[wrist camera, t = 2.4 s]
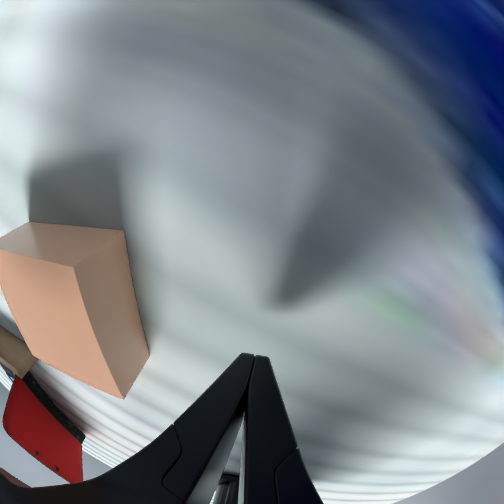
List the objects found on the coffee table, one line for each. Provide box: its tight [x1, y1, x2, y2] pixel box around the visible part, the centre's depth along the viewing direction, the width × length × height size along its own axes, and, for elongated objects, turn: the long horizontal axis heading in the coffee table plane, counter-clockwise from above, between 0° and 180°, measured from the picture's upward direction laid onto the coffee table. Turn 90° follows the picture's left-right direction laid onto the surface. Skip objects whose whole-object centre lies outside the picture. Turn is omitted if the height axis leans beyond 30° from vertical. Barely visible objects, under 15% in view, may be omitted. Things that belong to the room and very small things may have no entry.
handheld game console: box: [0, 362, 85, 483], centre depth 17 cm, size 12×11×7 cm
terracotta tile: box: [0, 222, 150, 400], centre depth 9 cm, size 6×6×3 cm
